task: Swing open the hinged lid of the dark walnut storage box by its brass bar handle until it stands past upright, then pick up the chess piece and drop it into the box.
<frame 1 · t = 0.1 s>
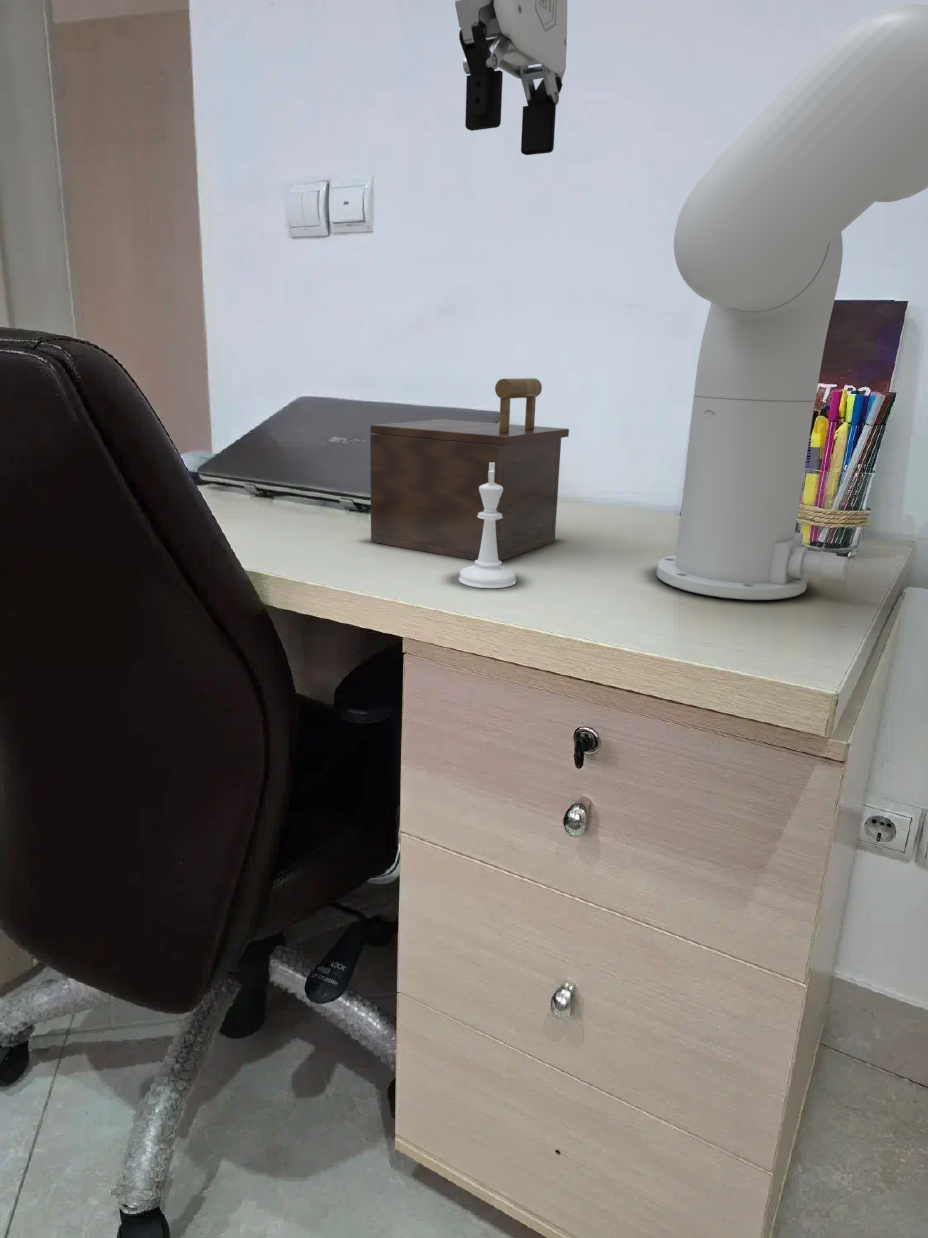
hand: (511, 141, 74), 37 cm above the table, tool pointing down, fingers open, 9 cm apart
chess piece: (487, 583, 71), on the table
lid: (471, 405, 81), point 14 cm above the table, hinge at 0.0°
box: (464, 541, 86), on the table
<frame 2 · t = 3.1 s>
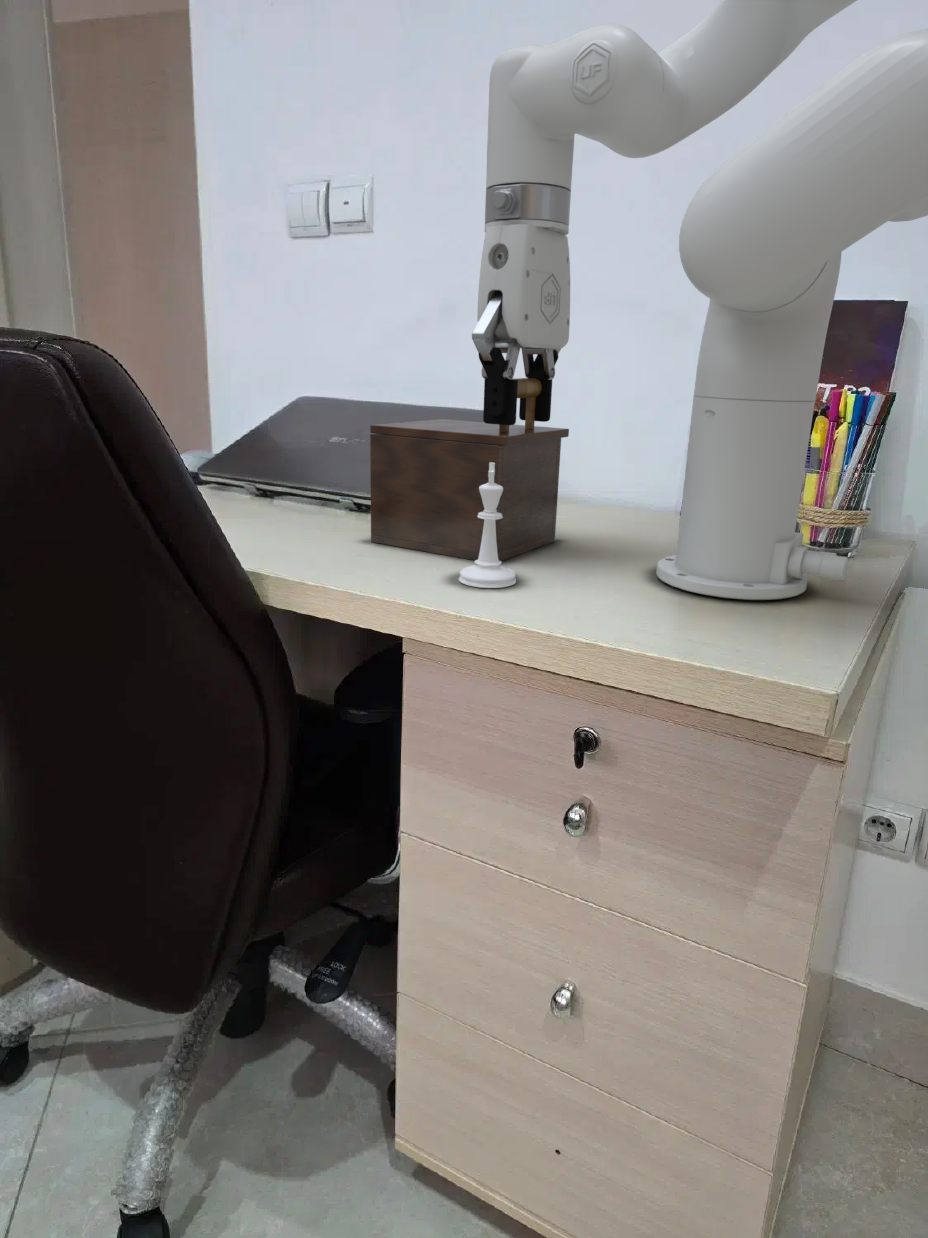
hand: (517, 420, 79), 13 cm above the table, tool pointing down, fingers closed on lid, 6 cm apart
lid: (471, 405, 81), point 14 cm above the table, hinge at 0.0°, touching gripper
everything else where it was.
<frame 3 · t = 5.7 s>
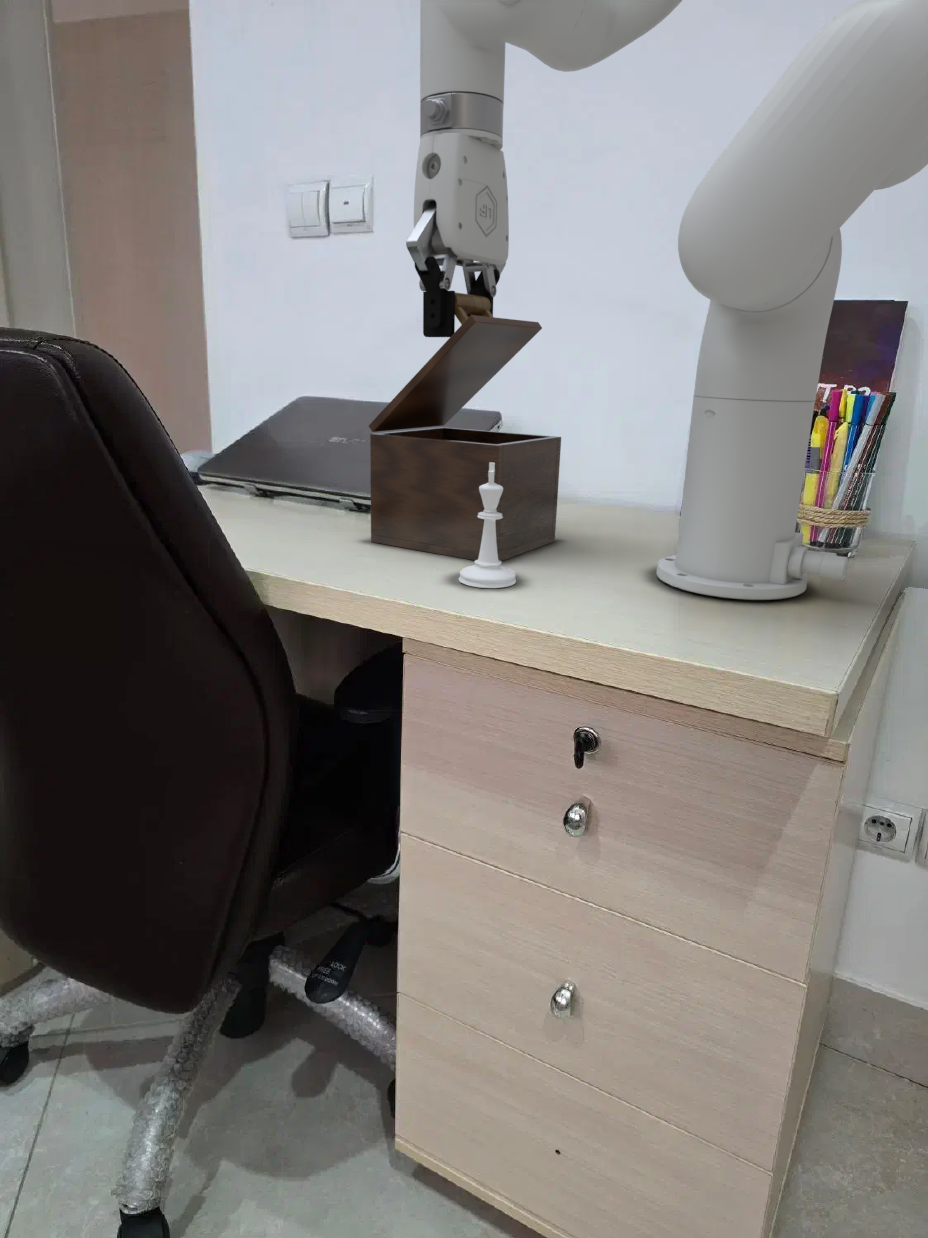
hand: (458, 336, 80), 20 cm above the table, tool pointing down, fingers closed on lid, 6 cm apart
lid: (442, 356, 82), point 18 cm above the table, hinge at 41.6°, touching gripper
everything else where it was.
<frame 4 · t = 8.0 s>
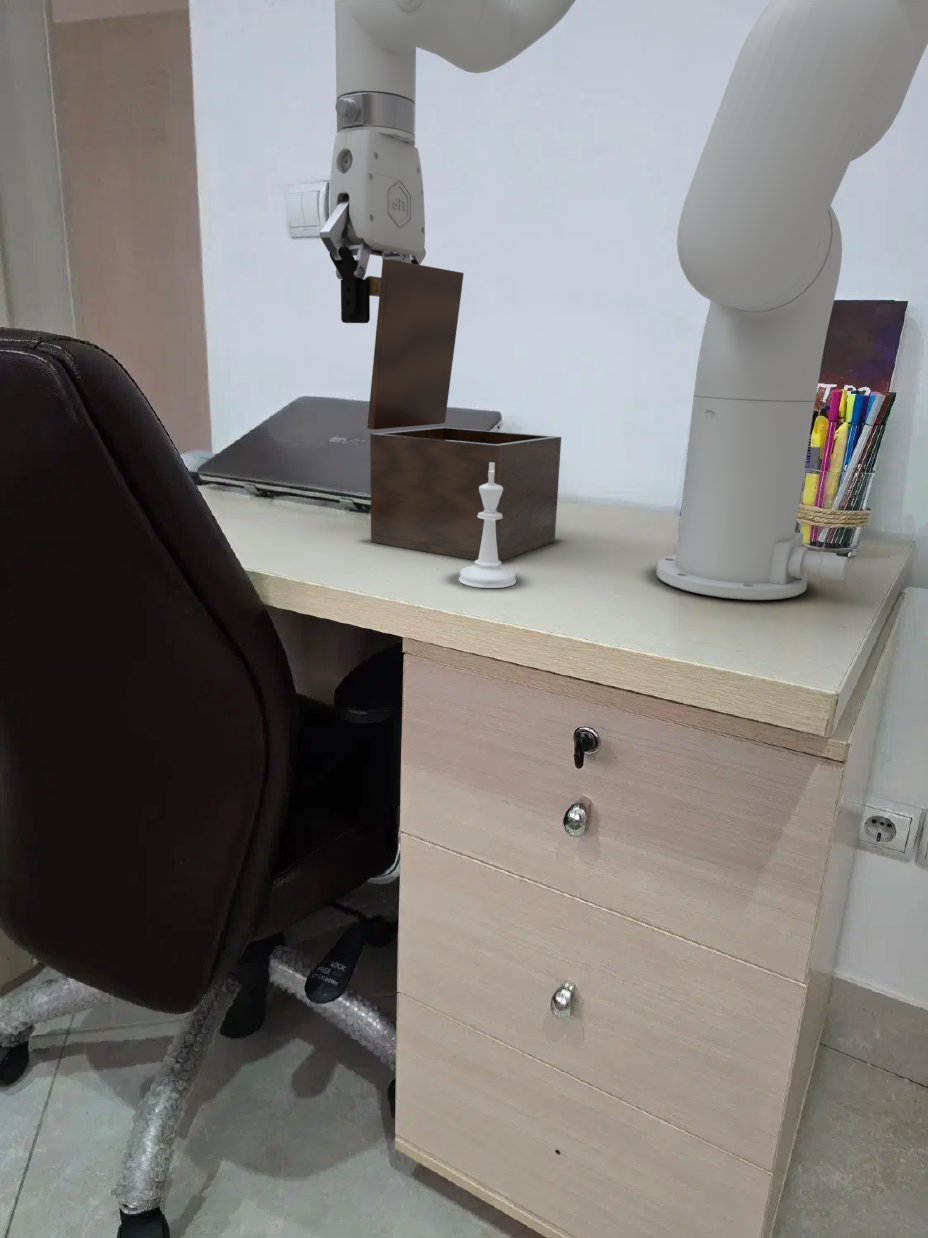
hand: (376, 322, 85), 21 cm above the table, tool pointing down, fingers closed on lid, 6 cm apart
lid: (397, 344, 84), point 19 cm above the table, hinge at 82.7°, touching gripper
everything else where it was.
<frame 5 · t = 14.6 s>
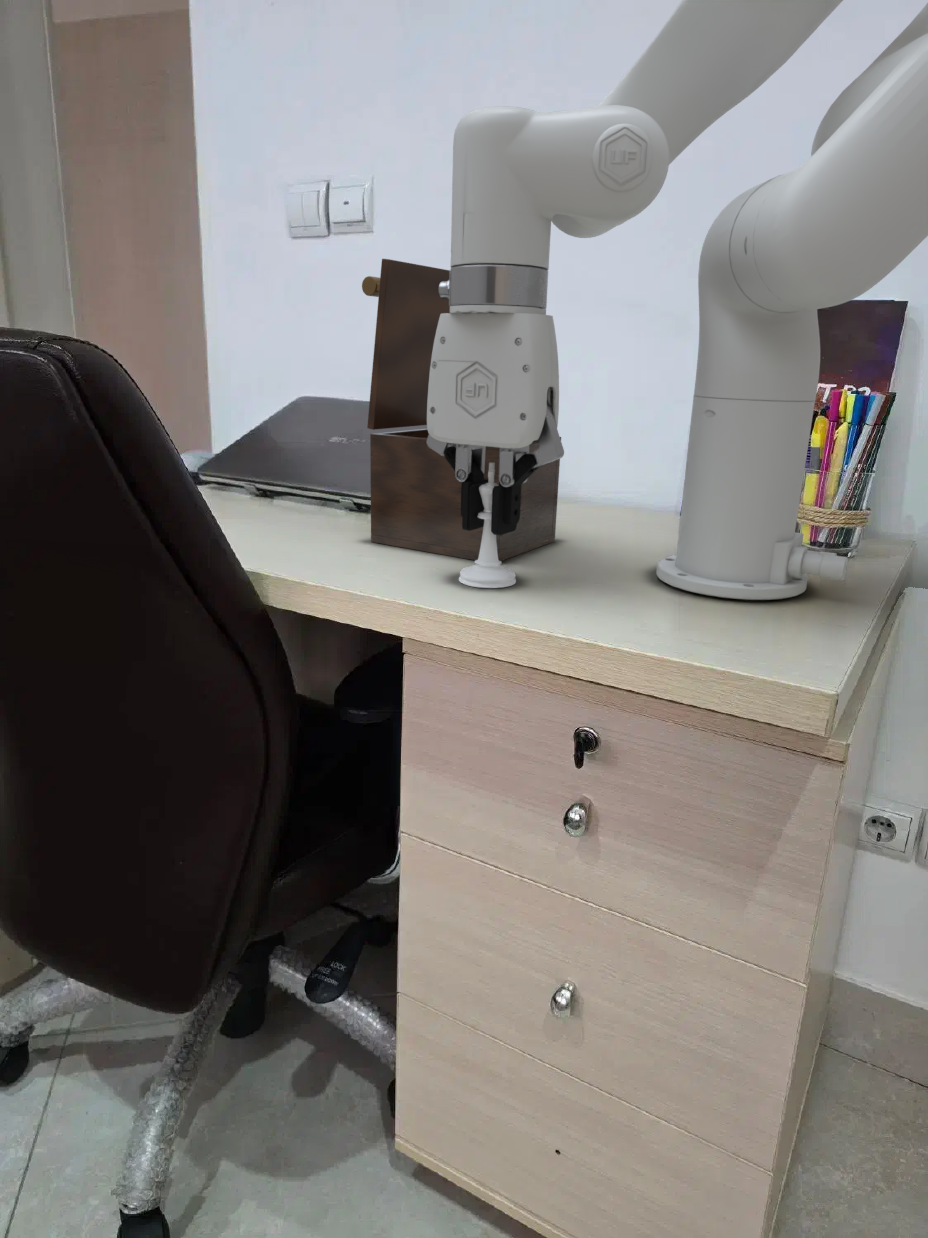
hand: (489, 528, 69), 5 cm above the table, tool pointing down, fingers closed on chess piece
chess piece: (487, 583, 71), on the table, touching gripper
lid: (397, 344, 84), point 19 cm above the table, hinge at 83.1°
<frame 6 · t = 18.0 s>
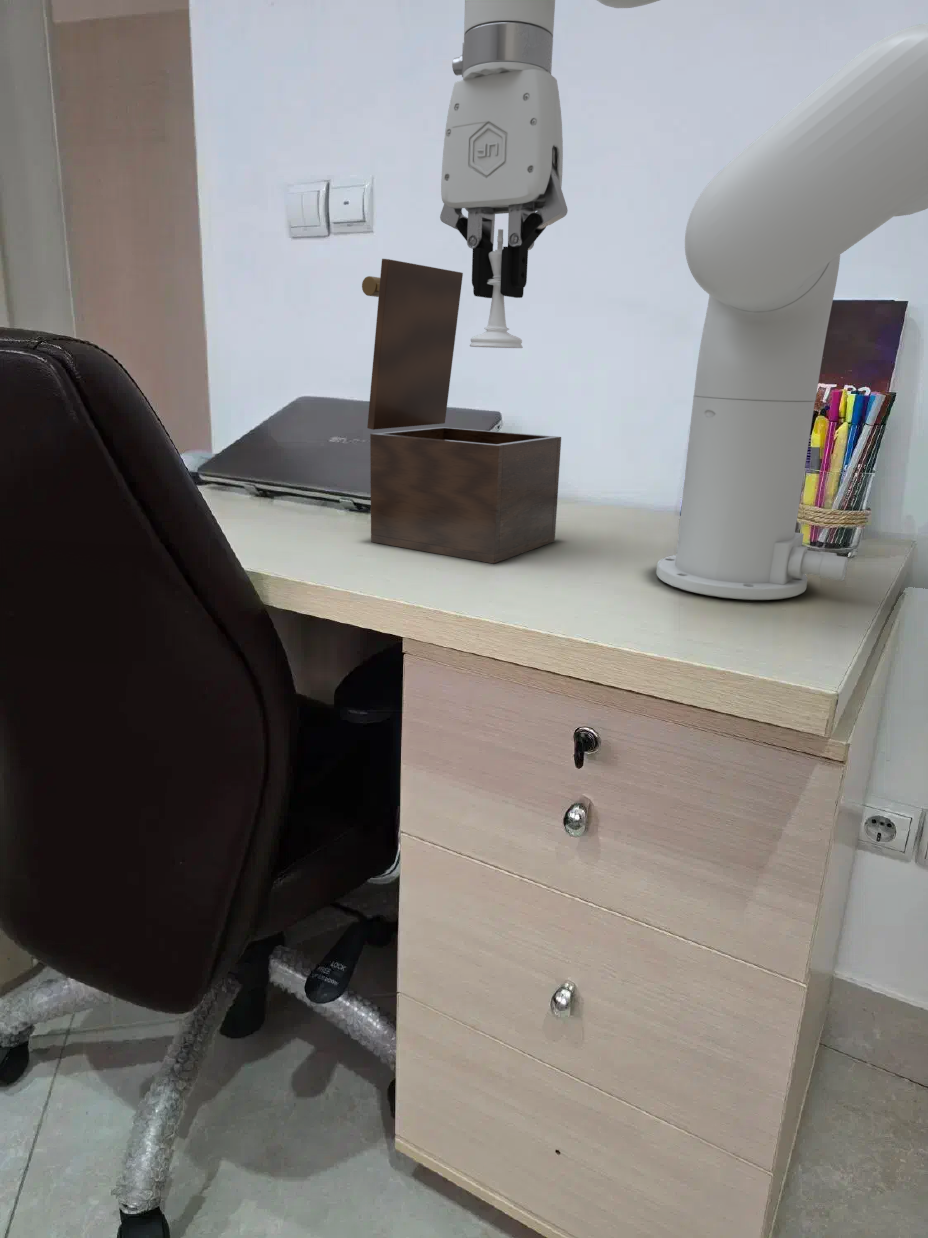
hand: (498, 294, 76), 24 cm above the table, tool pointing down, fingers closed on chess piece
chess piece: (495, 349, 77), point 19 cm above the table, touching gripper
everything else where it was.
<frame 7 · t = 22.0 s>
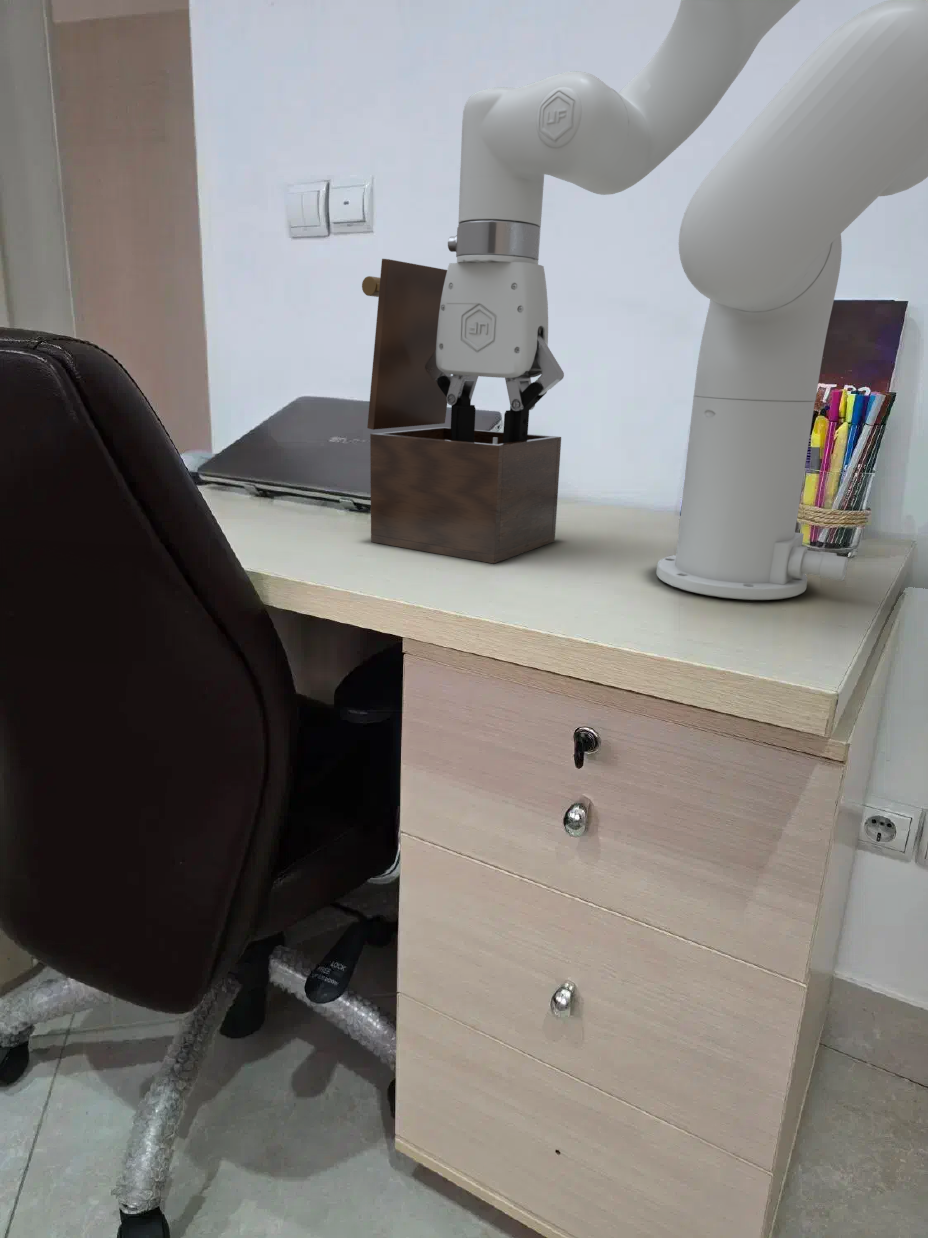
hand: (487, 447, 81), 10 cm above the table, tool pointing down, fingers open, 5 cm apart
chess piece: (491, 540, 84), point 1 cm above the table, touching box
everything else where it was.
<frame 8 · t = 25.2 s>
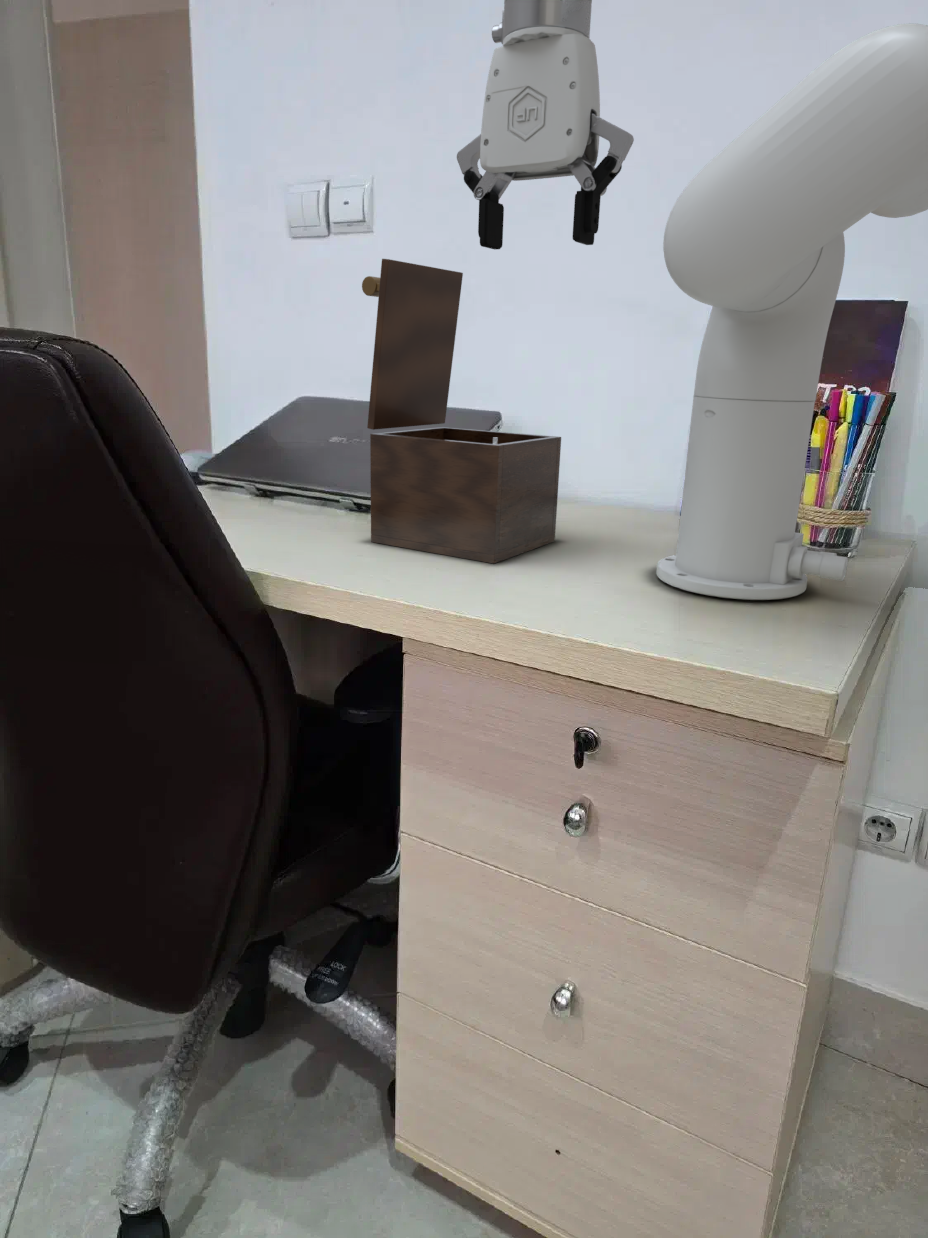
hand: (535, 245, 77), 28 cm above the table, tool pointing down, fingers open, 9 cm apart
nothing on the table moved.
at the end: lid at +83° (first picture: +0°); chess piece inside the target area in the box (3.3 cm from its centre), point 0.6 cm above the box's base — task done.
